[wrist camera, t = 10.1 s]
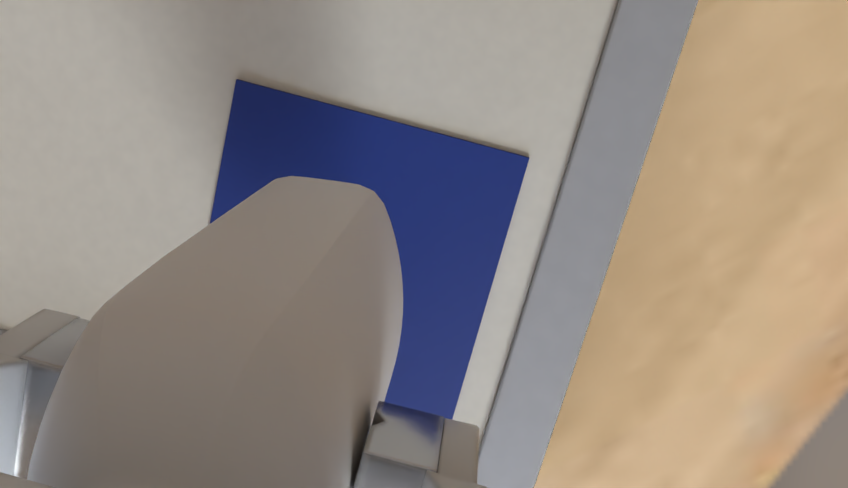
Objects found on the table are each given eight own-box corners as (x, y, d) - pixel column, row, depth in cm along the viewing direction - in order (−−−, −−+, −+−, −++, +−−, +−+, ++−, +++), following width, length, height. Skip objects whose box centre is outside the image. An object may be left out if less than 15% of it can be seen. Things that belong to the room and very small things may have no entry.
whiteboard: (-137, -545, 17) (-187, -591, 15) (788, -308, 16) (812, -336, 15) (-171, 314, 22) (-212, 331, 21) (517, 503, 22) (519, 532, 21)
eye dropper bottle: (160, 351, 16) (-622, 1108, 5) (304, 133, 15) (-325, 483, 3) (332, 468, 17) (-20, 1423, 5) (490, 266, 15) (479, 979, 4)
